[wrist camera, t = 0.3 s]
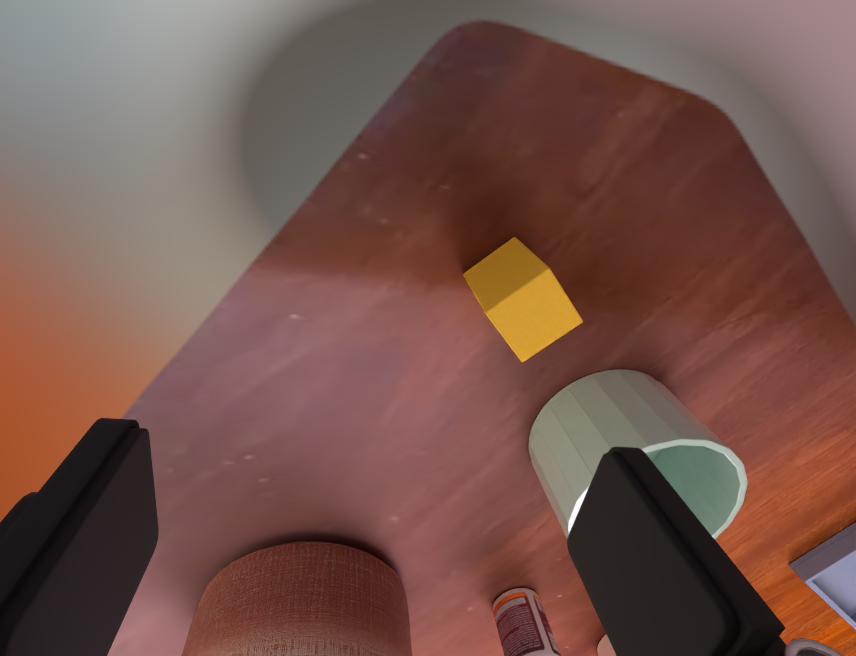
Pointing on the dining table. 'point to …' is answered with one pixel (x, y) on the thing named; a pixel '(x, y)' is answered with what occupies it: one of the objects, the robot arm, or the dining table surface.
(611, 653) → the water bottle
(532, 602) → the pill bottle
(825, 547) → the tray
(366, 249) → the dining table surface
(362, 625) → the planter
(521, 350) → the yellow block
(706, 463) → the mint faceted tub
